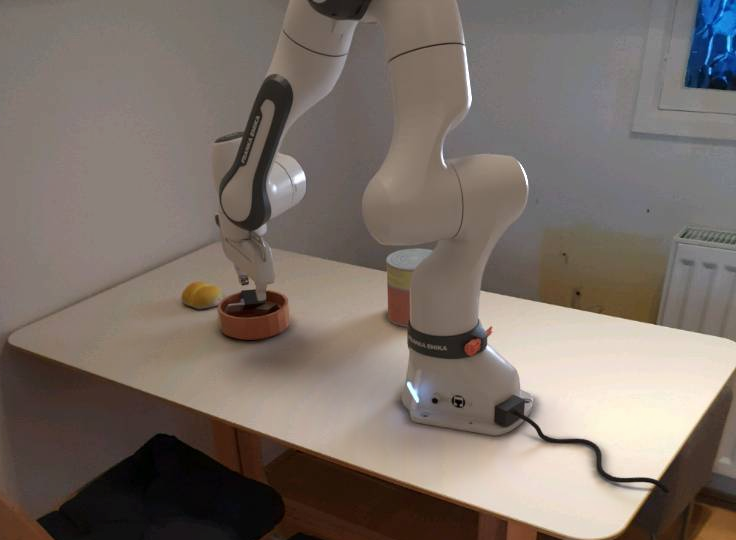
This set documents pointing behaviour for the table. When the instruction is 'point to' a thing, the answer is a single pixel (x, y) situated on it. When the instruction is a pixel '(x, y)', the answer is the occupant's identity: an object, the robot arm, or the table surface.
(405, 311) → the canned food
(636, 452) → the table surface
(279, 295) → the bowl
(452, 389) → the robot arm
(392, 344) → the table surface
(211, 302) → the bread roll
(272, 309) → the block
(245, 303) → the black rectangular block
